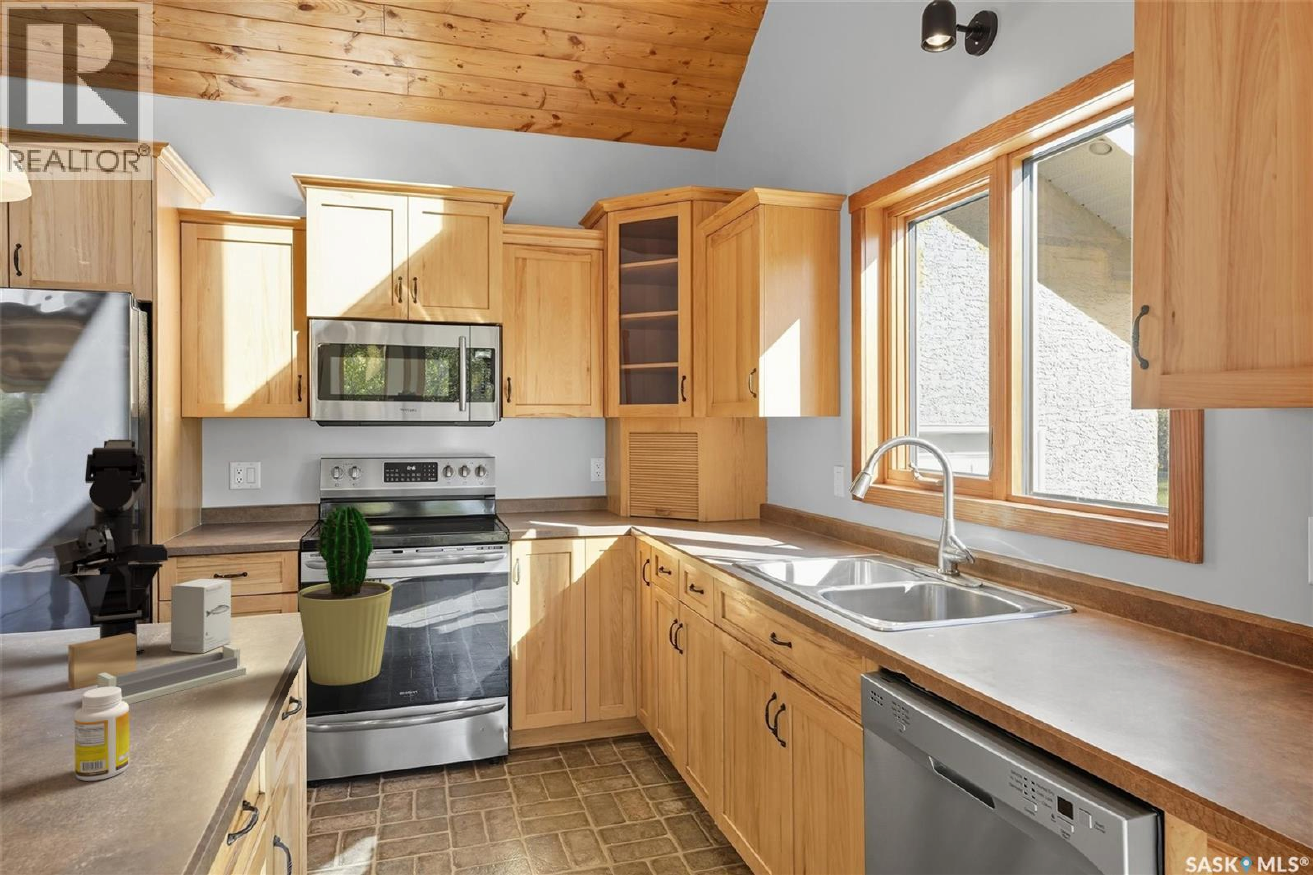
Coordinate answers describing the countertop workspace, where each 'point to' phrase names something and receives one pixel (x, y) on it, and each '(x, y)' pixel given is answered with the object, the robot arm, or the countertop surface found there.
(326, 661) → the potted cactus
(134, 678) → the track board
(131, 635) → the door panel
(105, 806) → the countertop surface
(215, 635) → the supplement box
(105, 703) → the supplement bottle
